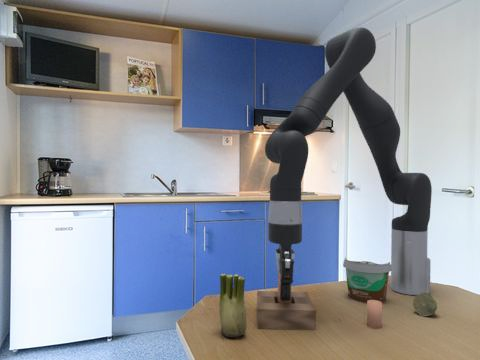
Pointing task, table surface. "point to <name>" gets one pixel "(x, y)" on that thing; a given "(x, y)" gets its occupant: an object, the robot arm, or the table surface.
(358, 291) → the food container
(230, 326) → the fennel bulb
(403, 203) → the robot arm
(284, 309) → the walnut block
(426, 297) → the lime
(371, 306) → the short dowel
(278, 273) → the long dowel
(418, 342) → the table surface
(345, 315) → the table surface
